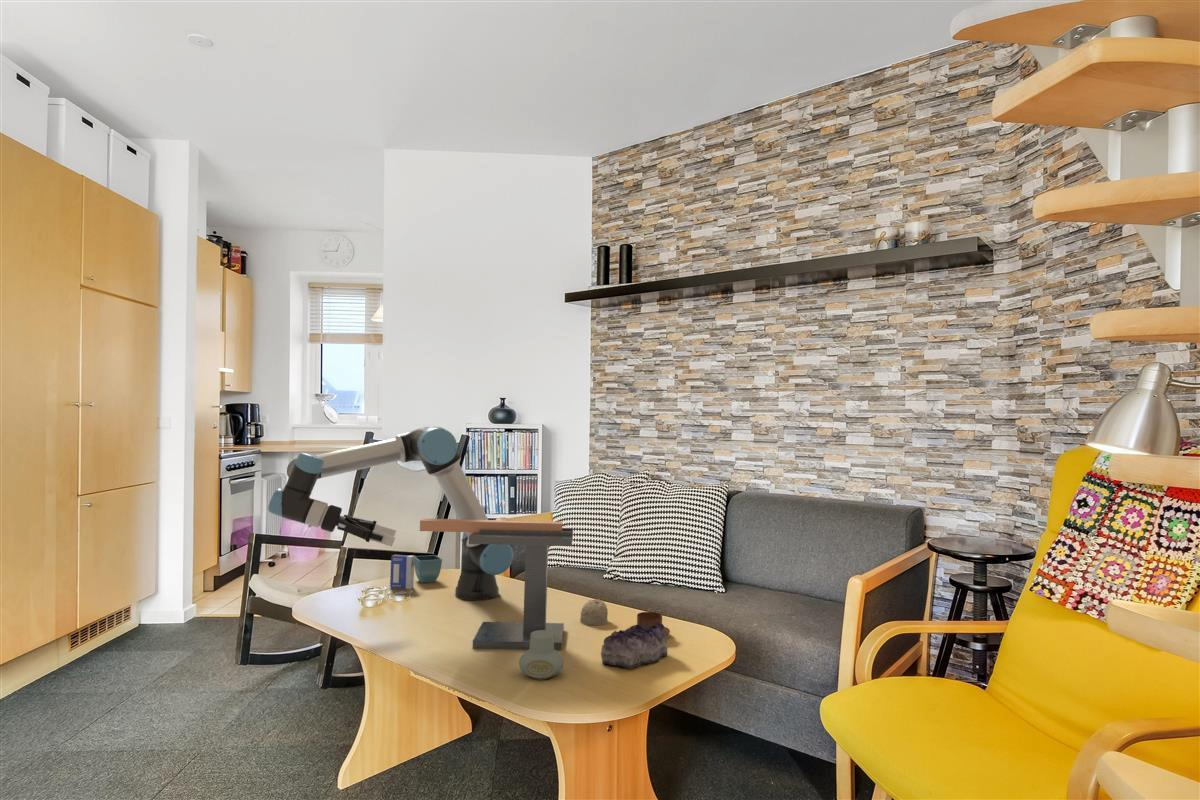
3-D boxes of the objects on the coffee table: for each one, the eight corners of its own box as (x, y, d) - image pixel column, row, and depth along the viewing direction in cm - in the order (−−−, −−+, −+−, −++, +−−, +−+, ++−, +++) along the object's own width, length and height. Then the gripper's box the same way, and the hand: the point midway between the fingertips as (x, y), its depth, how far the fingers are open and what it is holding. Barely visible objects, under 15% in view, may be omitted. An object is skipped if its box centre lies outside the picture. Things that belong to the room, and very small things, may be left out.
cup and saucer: (677, 635, 200) (677, 614, 200) (656, 645, 190) (657, 623, 190) (642, 627, 207) (642, 607, 207) (620, 637, 197) (621, 616, 197)
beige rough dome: (608, 635, 210) (615, 606, 215) (598, 624, 204) (606, 595, 209) (583, 630, 214) (591, 602, 219) (573, 620, 207) (581, 591, 212)
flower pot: (441, 582, 257) (442, 558, 258) (418, 584, 253) (419, 560, 253) (435, 578, 265) (435, 554, 265) (412, 580, 260) (413, 556, 261)
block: (419, 531, 191) (420, 520, 191) (423, 528, 195) (423, 518, 195) (561, 534, 192) (561, 523, 192) (562, 532, 196) (562, 521, 196)
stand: (465, 648, 183) (469, 532, 184) (475, 628, 201) (479, 523, 202) (568, 650, 184) (571, 535, 185) (570, 630, 202) (573, 525, 203)
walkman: (389, 588, 246) (391, 555, 247) (392, 586, 249) (394, 553, 250) (411, 589, 246) (412, 556, 246) (413, 587, 248) (414, 554, 249)
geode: (644, 646, 189) (649, 611, 189) (675, 663, 181) (681, 626, 181) (591, 659, 175) (597, 621, 175) (622, 678, 167) (628, 638, 167)
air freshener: (564, 669, 169) (565, 628, 170) (562, 681, 161) (563, 639, 162) (520, 668, 169) (521, 627, 170) (516, 680, 161) (517, 638, 162)
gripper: (325, 522, 213) (391, 542, 218) (313, 535, 189) (388, 558, 194) (334, 499, 214) (399, 520, 219) (324, 509, 190) (397, 532, 195)
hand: (394, 538), depth 207 cm, fingers open, 13 cm apart
